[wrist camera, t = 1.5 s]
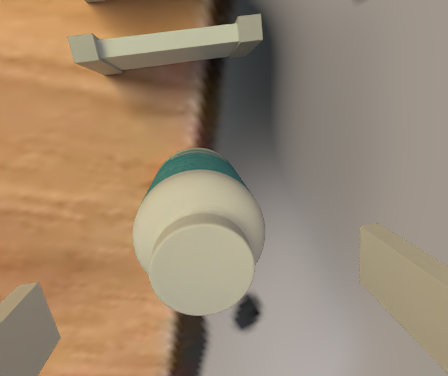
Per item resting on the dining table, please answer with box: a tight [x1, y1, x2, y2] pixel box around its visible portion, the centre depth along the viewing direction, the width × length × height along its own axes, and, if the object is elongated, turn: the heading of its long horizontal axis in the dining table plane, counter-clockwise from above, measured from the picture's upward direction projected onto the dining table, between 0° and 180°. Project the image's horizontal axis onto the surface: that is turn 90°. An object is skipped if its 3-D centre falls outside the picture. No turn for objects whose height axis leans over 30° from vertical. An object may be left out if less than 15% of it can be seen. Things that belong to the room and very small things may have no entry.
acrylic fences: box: [68, 0, 263, 75], centre depth 18 cm, size 11×6×6 cm, turn 98°
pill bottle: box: [133, 148, 265, 316], centre depth 18 cm, size 8×7×14 cm
